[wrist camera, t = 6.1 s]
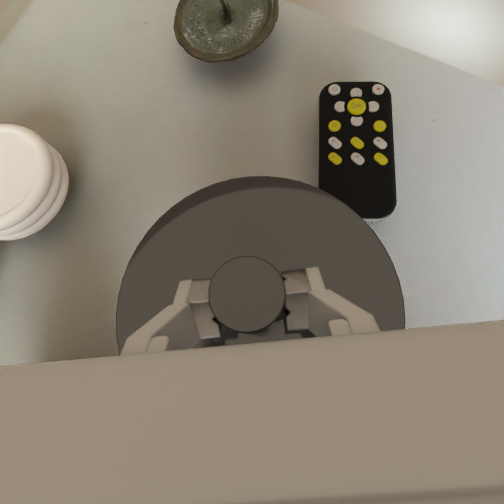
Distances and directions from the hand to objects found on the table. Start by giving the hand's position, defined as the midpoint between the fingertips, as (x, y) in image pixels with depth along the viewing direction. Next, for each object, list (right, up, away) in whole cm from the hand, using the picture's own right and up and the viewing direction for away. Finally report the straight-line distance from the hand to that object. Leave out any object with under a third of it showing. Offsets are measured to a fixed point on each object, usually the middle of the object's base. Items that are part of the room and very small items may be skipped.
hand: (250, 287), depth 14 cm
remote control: (+9, +10, +17) cm, 21 cm away
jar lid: (0, -1, +3) cm, 3 cm away
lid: (-2, +24, +21) cm, 32 cm away
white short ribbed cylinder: (-21, +7, +18) cm, 29 cm away
